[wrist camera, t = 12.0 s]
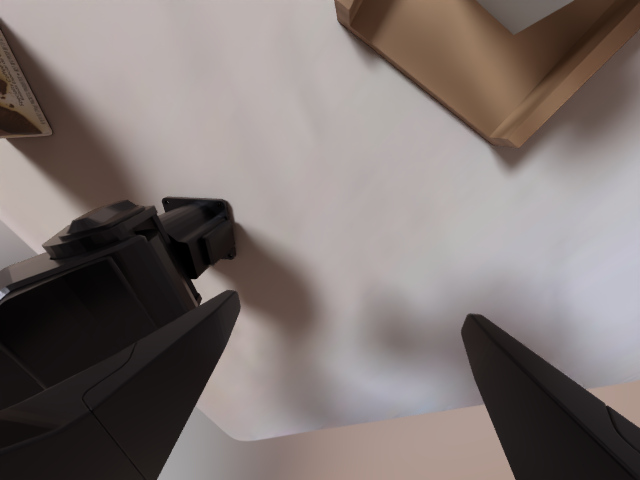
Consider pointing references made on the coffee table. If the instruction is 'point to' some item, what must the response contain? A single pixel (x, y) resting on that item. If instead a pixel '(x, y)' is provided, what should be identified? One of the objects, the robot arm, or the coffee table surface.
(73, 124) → the coffee table surface
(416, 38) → the tray
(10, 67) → the coffee box
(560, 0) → the tall block
